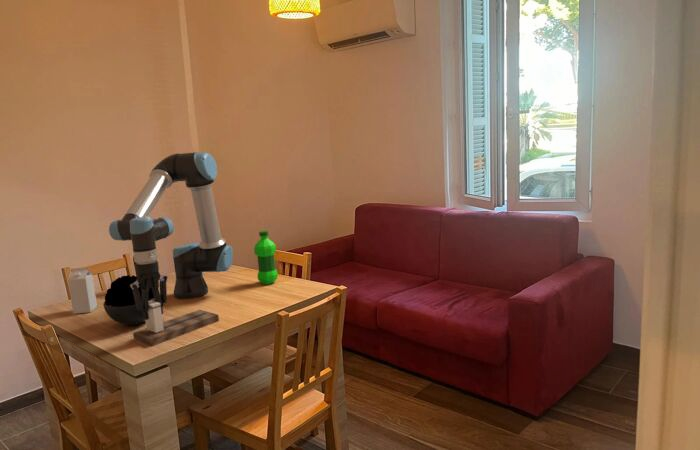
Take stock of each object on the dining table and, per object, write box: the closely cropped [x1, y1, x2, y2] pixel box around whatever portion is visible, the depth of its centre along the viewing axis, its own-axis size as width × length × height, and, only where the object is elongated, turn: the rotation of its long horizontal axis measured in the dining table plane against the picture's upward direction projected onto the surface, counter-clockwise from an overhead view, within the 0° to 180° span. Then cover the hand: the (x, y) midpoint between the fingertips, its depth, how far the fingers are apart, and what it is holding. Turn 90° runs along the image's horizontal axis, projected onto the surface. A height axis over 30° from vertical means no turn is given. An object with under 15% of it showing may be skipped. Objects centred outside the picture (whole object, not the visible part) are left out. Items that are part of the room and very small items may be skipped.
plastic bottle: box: [253, 230, 279, 285], centre depth 245 cm, size 10×10×25 cm
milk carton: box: [67, 266, 98, 315], centre depth 220 cm, size 7×7×19 cm
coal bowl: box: [103, 274, 155, 326], centre depth 200 cm, size 20×20×19 cm
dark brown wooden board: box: [132, 309, 220, 347], centre depth 191 cm, size 28×12×3 cm, turn 141°
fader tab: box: [145, 301, 164, 333], centre depth 183 cm, size 3×6×10 cm, turn 51°
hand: (154, 325), depth 184 cm, fingers closed on fader tab, 3 cm apart
